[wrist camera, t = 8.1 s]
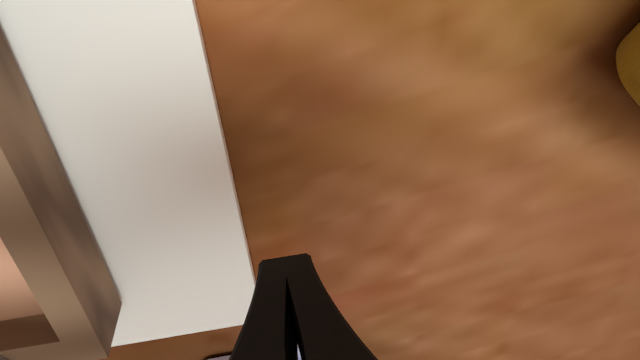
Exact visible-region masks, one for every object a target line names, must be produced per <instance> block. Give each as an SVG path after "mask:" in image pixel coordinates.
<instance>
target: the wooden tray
mask: <svg viewBox="0 0 640 360" xmlns="http://www.w3.org/2000/svg"><path fill="white" fill-rule="evenodd" d="M121 306H122V302H121V300H120V298H119V295H118V293H117V291H116V289H115V286H114V284H113V282H112V280H111V277H110V275H109V273H108V271H107V268H106V266H105V264H104V262H103V259H102V257H101V255H100V253H99V250H98V248H97V246H96V244H95V241H94V239H93V237H92V235H91V232H90V230H89V228H88V226H87V223H86V221H85V219H84V216H83V214H82V212H81V210H80V207H79V205H78V203H77V201H76V198H75V196H74V194H73V192H72V189H71V187H70V185H69V183H68V180H67V178H66V176H65V174H64V171H63V169H62V167H61V165H60V162H59V160H58V158H57V156H56V153H55V151H54V149H53V147H52V144H51V142H50V140H49V137H48V135H47V133H46V131H45V128H44V126H43V124H42V122H41V119H40V117H39V115H38V113H37V110H36V108H35V106H34V104H33V101H32V99H31V97H30V95H29V92H28V90H27V88H26V86H25V83H24V81H23V79H22V77H21V74H20V72H19V70H18V68H17V65H16V63H15V61H14V59H13V56H12V54H11V52H10V49H9V47H8V45H7V43H6V40H5V38H4V36H3V34H2V31H1V29H0V360H98V359H104V358H108V356H109V352H110V348H111V344H112V340H113V337H114V333H115V329H116V325H117V321H118V317H119V314H120V310H121Z"/></svg>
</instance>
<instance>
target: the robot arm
mask: <svg viewBox="0 0 640 360" xmlns="http://www.w3.org/2000/svg"><path fill="white" fill-rule="evenodd" d="M297 343H298V344H297ZM207 360H378V359H377V358H376V357H375V356H374V355H373V354H372V352H371V351H370V350H369V349H368V348H367V347H366V346H365V344H364V343H363V342H362V341H361V340H360V338H359V337H358V336H357V335H356V333H355V332H354V331H353V329H352V328H351V327H350V325H349V324H348V323H347V321H346V320H345V319H344V317H343V316H342V314H341V313H340V311H339V310H338V308H337V307H336V305H335V304H334V302H333V301H332V299H331V297H330V296H329V294H328V293H327V291H326V289H325V288H324V286H323V284H322V282H321V280H320V278H319V276H318V274H317V272H316V270H315V268H314V265H313V263H312V260H311V256H310V255H308V254H306V253H305V254H299V255H293V256H286V257H280V258H274V259H268V260H262V261H261V262H260V264H259V269H258V276H257V281H256V285H255V289H254V293H253V296H252V300H251V303H250V306H249V309H248V312H247V315H246V318H245V321H244V324H243V327H242V329H241V332H240V334H239V337H238V339H237V342H236V344H235V347H234V349H233V351H232V354H231V355H228V356H222V357H217V358H211V359H207Z"/></svg>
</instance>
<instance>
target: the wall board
mask: <svg viewBox="0 0 640 360" xmlns="http://www.w3.org/2000/svg"><path fill="white" fill-rule="evenodd" d="M0 29H1V31H2V34H3V36H4V38H5V40H6V43H7V45H8V47H9V49H10V52H11V54H12V56H13V59H14V61H15V63H16V65H17V68H18V70H19V72H20V74H21V77H22V79H23V81H24V83H25V86H26V88H27V90H28V92H29V95H30V97H31V99H32V101H33V104H34V106H35V108H36V110H37V113H38V115H39V117H40V119H41V122H42V124H43V126H44V128H45V131H46V133H47V135H48V137H49V140H50V142H51V144H52V147H53V149H54V151H55V153H56V156H57V158H58V160H59V162H60V165H61V167H62V169H63V171H64V174H65V176H66V178H67V180H68V183H69V185H70V187H71V189H72V192H73V194H74V196H75V198H76V201H77V203H78V205H79V207H80V210H81V212H82V214H83V216H84V219H85V221H86V223H87V226H88V228H89V230H90V232H91V235H92V237H93V239H94V241H95V244H96V246H97V248H98V250H99V253H100V255H101V257H102V259H103V262H104V264H105V266H106V268H107V271H108V273H109V275H110V277H111V280H112V282H113V284H114V286H115V289H116V291H117V293H118V295H119V298H120V300H121V302H122V306H121V310H120V314H119V317H118V321H117V325H116V329H115V333H114V337H113V340H112V344H111V347H113V346H119V345H125V344H131V343H137V342H143V341H149V340H155V339H161V338H167V337H172V336H178V335H184V334H190V333H196V332H202V331H208V330H214V329H220V328H226V327H232V326H238V325H243V324H244V321H245V318H246V315H247V312H248V309H249V306H250V303H251V300H252V296H253V293H254V289H255V285H256V281H255V276H254V272H253V267H252V262H251V258H250V253H249V248H248V244H247V239H246V235H245V230H244V225H243V221H242V216H241V211H240V207H239V202H238V198H237V193H236V188H235V184H234V179H233V174H232V170H231V165H230V161H229V156H228V151H227V147H226V142H225V137H224V133H223V128H222V124H221V119H220V114H219V110H218V105H217V100H216V96H215V91H214V86H213V82H212V77H211V73H210V68H209V63H208V59H207V54H206V49H205V45H204V40H203V36H202V31H201V26H200V22H199V17H198V12H197V8H196V3H195V0H0Z"/></svg>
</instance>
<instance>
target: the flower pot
mask: <svg viewBox="0 0 640 360" xmlns="http://www.w3.org/2000/svg"><path fill="white" fill-rule="evenodd" d="M616 65H617V71H618V75H619V78H620V80H621V82H622V84H623V86H624V88H625V89H626V91H627V92H628V93H629V95H630V96H631V97H632V98H633V99H634V101H635V102H636V103H637V104H638V105H639V106H640V22H639V23H638V24H637V25H636V26H635V27H634V28H633V29H632V31H631V32H630V33H629V34H628V35H627V36H626V37H625V38H624V39H623V40H622V41H621V42H620V44H619V46H618V48H617V50H616Z"/></svg>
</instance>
